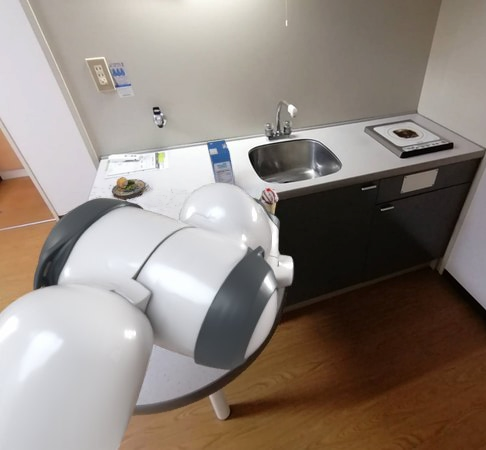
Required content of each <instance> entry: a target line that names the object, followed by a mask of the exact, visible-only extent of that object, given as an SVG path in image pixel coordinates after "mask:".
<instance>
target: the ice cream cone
mask: <svg viewBox="0 0 486 450" xmlns="http://www.w3.org/2000/svg"><path fill="white" fill-rule="evenodd" d="M259 200H260V201H261V202H262V203H263V204H264V205H265V207H266V209H267V210H268V211H269V212H271V213H273V214H274V215H275V211H276V206H277V203H278V201H279V196H278V194H277V192H276V190H275V189H273V188H270V187H268V188H265V189H264V190H262V192H261V195H260V198H259Z"/></svg>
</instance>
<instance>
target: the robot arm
mask: <svg viewBox="0 0 486 450" xmlns="http://www.w3.org/2000/svg"><path fill="white" fill-rule="evenodd" d="M280 224H281V222H280V219H279V217H277V216H276V215H275V213H274V214H273V213H271V212H269V211H268V210H267V209H266V207H265V205H264V204H263V203H262V202H261V201H260V199H258V198H256V197H253V196H251V195H250V194H249V192H246V191H245V190H244V189H243V188H241V187H240V186H237V185H236V184H235V185H233V184H229V183H220V182H218V183H215V182H211V183H207V184H204V185H202V186H200V187H198V188H196V189H195V190H194V191H192V192H191V193H190V194H189V195H188V196H187V198H186V199H185V200H184V202H183V203H182V205H181V208H180V211H179V214H178V219H176V218H173V217H170V216H168V215H164V214H161V213H158V212H155V211H151V210H148V209H145V208H144V207H142V206H141V205H140V204H137V203H136V202H131V201H127V200H124V199H118V198H111V197H97V198H93V199H90V200H87V201H85V202H83V203H82V204H79V205H77V206H76V207H74V208H72V209H71V210H69V211H68V212H67V213H65V214H64V215H63V216H61V218H60V219H58V220H57V221H56V223H55V225H53V227H52V228H51V230H50V231H49V233H48V235H47V236H46V238H45V240H44V243H43V245H42V247H41V249H40V253H39V256H38V260H37V265H36V268H35V272H34V276H33V281H32V282H33V285H32V286H33V287H32V291H29V292H28V293H24V294H23V295H22V296H20V297H18V298H17V299H15V300H13V302H11V303H10V304H8V305H7V306H5V308H4V309H3V310H2V311H1V312H0V450H119V449H120V446H121V444H122V442H123V439H124V437H125V434H126V432H127V430H128V428H129V425H130V422H131V420H132V417H133V414H134V411H135V409H136V405H137V403H138V400H139V398H140V394H141V392H142V387H143V385H144V381H145V378H146V375H147V372H148V368H149V363H150V360H151V356H152V353H153V348H154V346H155V347H159V348H162V349H164V350H166V351H170V352H172V353H176V354H178V355H181V356H184V357H188V358H191V359H193V360H194V363H195V364H196V365H200V366H203V367H206V368H207V367H208V368H212V369H216V370H224V371H233V370H234V369H236V368H237V367H239V366H242V365H243V364H244V365H245V363H246V361H247V360H248V359H249V357H250V356H251V355H253V354H254V353H255V352H256V351H257V350H258V349H259V348H260V347H261V346H262V344H263V343H264V342H265V340H266V339H267V337H268V335H270V332H271V330H272V328H273V325H274V323H275V319H276V315H277V309H278V292H279V288H286V287H290V286H292V283H293V281H294V275H295V264H294V259H293V258H292V256H290V255H286V254H279V235H280V226H281V225H280Z"/></svg>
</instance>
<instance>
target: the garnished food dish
mask: <svg viewBox="0 0 486 450" xmlns="http://www.w3.org/2000/svg"><path fill="white" fill-rule="evenodd" d="M145 185H146V184H145V181H144V180H143V179H138V178H135V179H134V178H133V179H132V178H130V179H127V178H126V177H123V176H121V177H118V178H117V180H116V184H115V186H113V187H112V189H111V193H112V195H113V197H114V198H115V199H118V200H128V199H132V198H136V197H137V196H140V195H142V190H144V188H145Z"/></svg>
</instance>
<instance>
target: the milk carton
mask: <svg viewBox="0 0 486 450" xmlns="http://www.w3.org/2000/svg"><path fill="white" fill-rule="evenodd" d="M206 145H207V150H208V154H209V159H210V164H211V168H212V173H213V179H214V183H218V182H220V183H229V184H233V185H235V186H236V181H235V176H234V170H233V164H232V159H231V158H232V157H231V153H230V150H229V147H228V145H227V142H226V140H225V139H222V140H214V141H209V142H206Z"/></svg>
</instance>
